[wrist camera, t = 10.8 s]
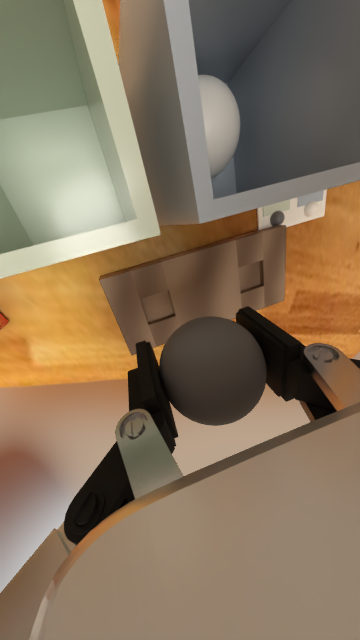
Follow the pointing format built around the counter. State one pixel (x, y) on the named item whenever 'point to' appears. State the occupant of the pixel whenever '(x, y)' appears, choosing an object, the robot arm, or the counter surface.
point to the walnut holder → (197, 285)
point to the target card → (292, 211)
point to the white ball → (219, 122)
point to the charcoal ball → (213, 370)
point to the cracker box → (2, 321)
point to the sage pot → (65, 138)
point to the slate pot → (243, 99)
